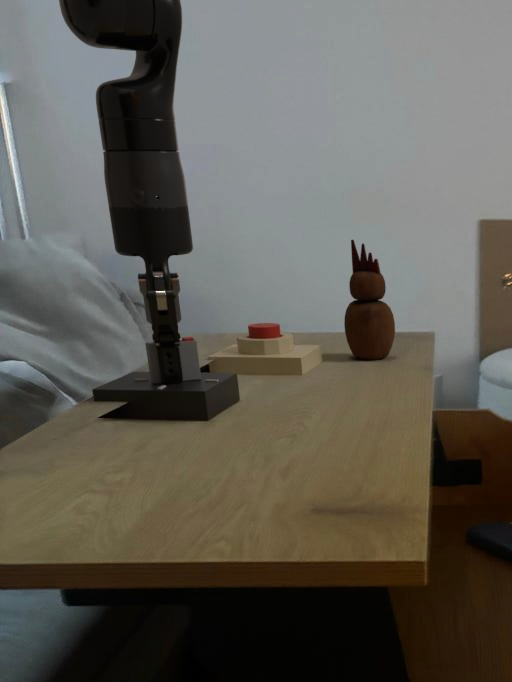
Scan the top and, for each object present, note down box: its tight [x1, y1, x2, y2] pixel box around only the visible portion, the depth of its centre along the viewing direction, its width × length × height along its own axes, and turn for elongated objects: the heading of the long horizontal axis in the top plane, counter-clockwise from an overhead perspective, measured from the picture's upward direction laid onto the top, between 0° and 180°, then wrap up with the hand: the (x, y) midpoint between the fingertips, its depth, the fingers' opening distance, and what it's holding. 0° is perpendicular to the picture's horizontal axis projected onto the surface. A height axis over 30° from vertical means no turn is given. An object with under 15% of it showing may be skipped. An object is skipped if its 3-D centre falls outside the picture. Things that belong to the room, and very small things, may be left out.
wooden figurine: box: [343, 239, 396, 361], centre depth 131 cm, size 7×6×15 cm
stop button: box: [247, 322, 282, 339], centre depth 126 cm, size 4×4×2 cm
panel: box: [92, 371, 241, 421], centre depth 105 cm, size 12×10×3 cm
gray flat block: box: [144, 336, 201, 384], centre depth 104 cm, size 5×1×4 cm, turn 118°
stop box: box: [207, 331, 323, 376], centre depth 127 cm, size 12×10×4 cm
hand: (172, 380), depth 104 cm, fingers closed on gray flat block, 2 cm apart
